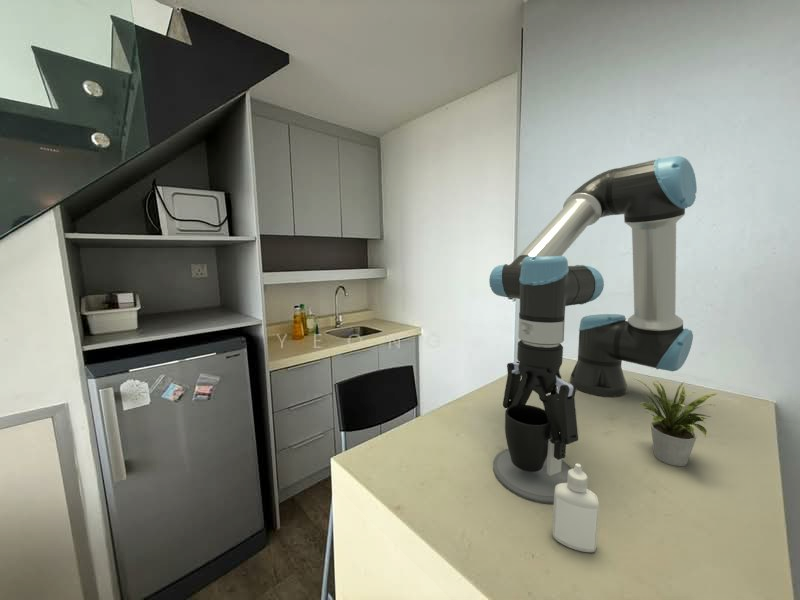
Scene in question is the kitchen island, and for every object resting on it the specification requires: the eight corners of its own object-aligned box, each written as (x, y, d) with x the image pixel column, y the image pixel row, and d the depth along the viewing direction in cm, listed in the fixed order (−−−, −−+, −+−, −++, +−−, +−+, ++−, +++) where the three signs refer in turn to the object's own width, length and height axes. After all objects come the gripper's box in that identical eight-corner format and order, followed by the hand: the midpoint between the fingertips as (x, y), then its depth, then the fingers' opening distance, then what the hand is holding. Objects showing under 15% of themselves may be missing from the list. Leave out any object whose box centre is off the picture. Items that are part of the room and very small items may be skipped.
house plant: (610, 453, 67) (616, 379, 65) (630, 430, 76) (636, 364, 73) (703, 491, 56) (714, 403, 54) (714, 458, 65) (724, 382, 63)
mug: (575, 463, 59) (578, 415, 58) (526, 482, 54) (529, 430, 53) (540, 440, 67) (542, 397, 65) (494, 455, 62) (495, 409, 61)
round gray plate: (532, 443, 71) (532, 440, 71) (598, 487, 57) (598, 483, 57) (477, 462, 65) (477, 457, 65) (535, 515, 51) (536, 510, 51)
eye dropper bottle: (585, 563, 43) (591, 482, 42) (546, 534, 48) (550, 460, 46) (601, 547, 46) (607, 469, 44) (562, 520, 50) (566, 450, 49)
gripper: (485, 332, 65) (483, 435, 68) (578, 361, 47) (569, 502, 50) (514, 328, 68) (510, 427, 71) (611, 354, 50) (601, 488, 53)
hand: (534, 458), depth 61 cm, fingers closed on mug, 8 cm apart
